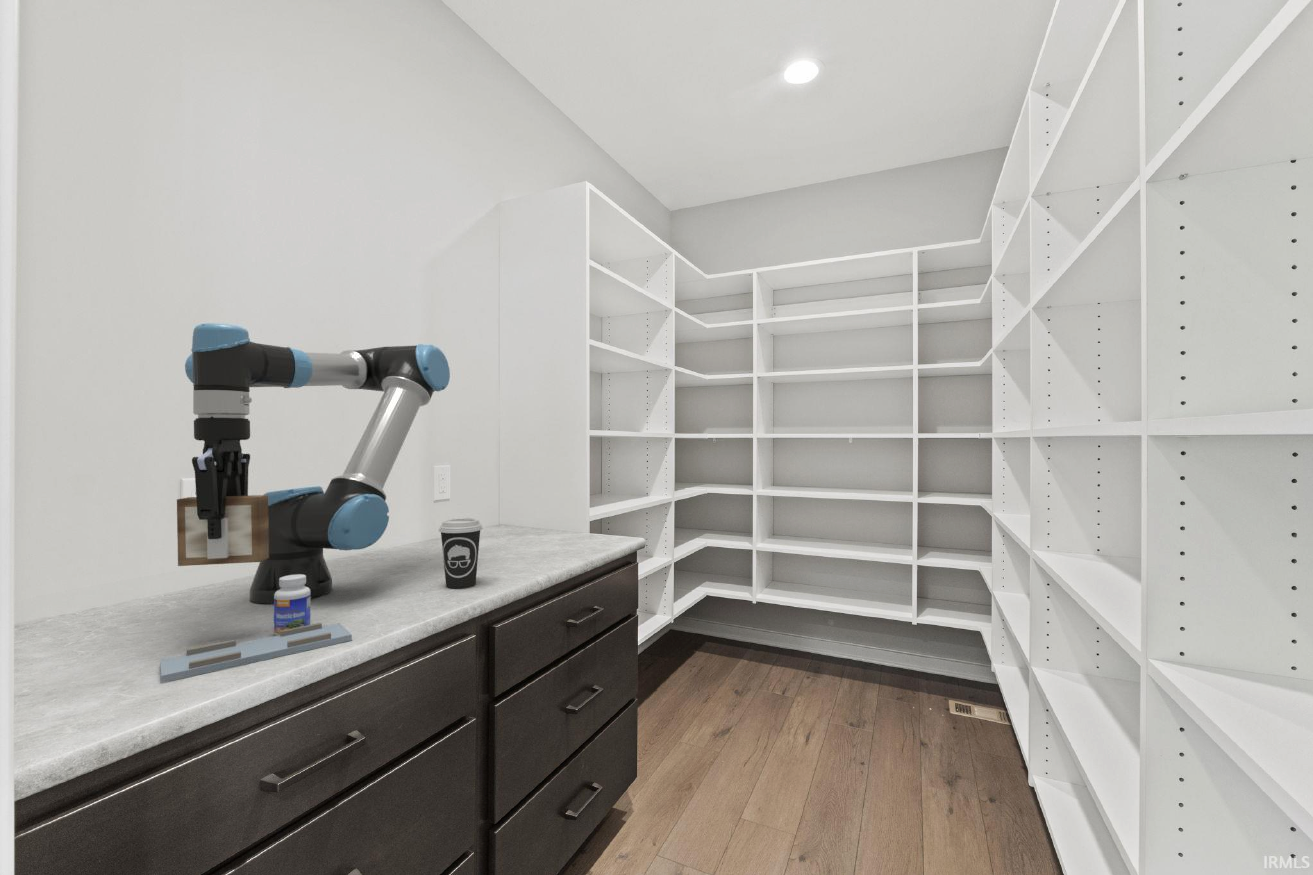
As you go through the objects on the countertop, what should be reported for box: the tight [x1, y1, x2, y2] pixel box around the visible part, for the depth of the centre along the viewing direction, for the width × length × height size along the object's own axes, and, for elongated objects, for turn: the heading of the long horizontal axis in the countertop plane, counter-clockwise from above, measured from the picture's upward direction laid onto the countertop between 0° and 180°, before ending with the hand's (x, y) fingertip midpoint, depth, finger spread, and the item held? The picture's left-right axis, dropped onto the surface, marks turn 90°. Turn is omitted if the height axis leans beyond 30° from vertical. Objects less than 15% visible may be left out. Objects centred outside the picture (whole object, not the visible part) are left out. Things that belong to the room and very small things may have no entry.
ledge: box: [159, 622, 353, 684], centre depth 89 cm, size 8×24×2 cm, turn 132°
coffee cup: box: [438, 517, 483, 590], centre depth 129 cm, size 10×10×15 cm
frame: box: [176, 494, 269, 567], centre depth 94 cm, size 12×3×11 cm, turn 102°
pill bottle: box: [273, 574, 312, 636], centre depth 98 cm, size 5×5×10 cm
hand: (224, 554), depth 94 cm, fingers closed on frame, 3 cm apart
